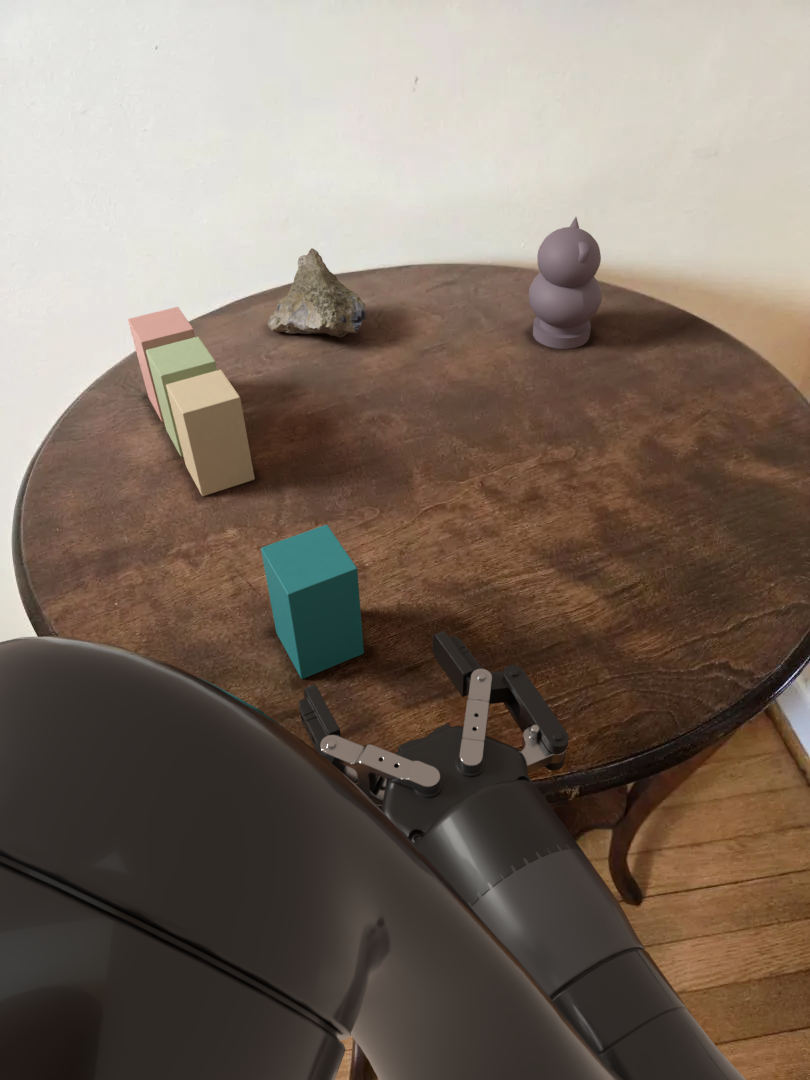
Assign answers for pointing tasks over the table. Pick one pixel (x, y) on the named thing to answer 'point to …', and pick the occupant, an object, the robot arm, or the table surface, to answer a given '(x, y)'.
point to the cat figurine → (565, 288)
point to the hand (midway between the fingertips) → (374, 667)
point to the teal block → (314, 600)
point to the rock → (317, 302)
